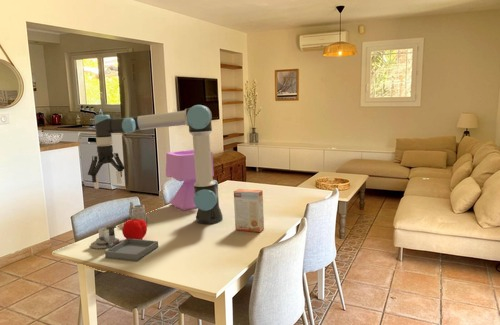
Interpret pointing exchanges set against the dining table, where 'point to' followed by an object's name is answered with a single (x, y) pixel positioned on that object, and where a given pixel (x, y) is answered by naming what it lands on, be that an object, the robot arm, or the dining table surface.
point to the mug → (137, 212)
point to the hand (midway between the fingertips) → (108, 185)
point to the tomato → (134, 229)
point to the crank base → (103, 244)
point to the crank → (107, 234)
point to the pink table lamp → (183, 177)
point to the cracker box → (249, 210)
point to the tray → (131, 249)
